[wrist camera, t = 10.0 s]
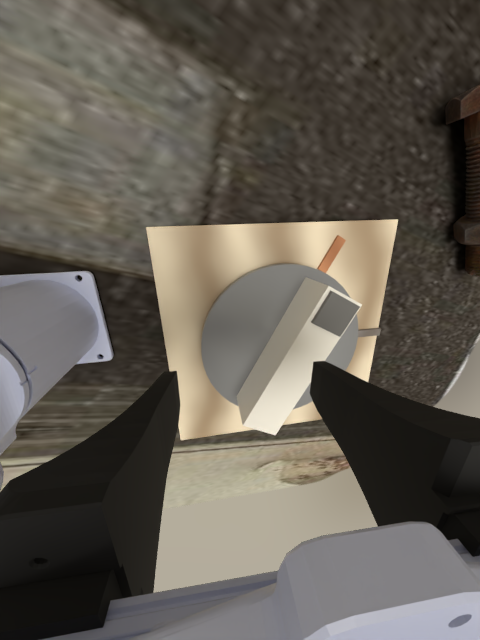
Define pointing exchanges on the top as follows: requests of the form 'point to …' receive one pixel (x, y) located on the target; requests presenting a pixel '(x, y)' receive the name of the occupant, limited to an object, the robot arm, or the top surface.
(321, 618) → the robot arm
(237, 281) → the dial
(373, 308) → the dial board
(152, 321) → the top surface
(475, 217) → the bolt
